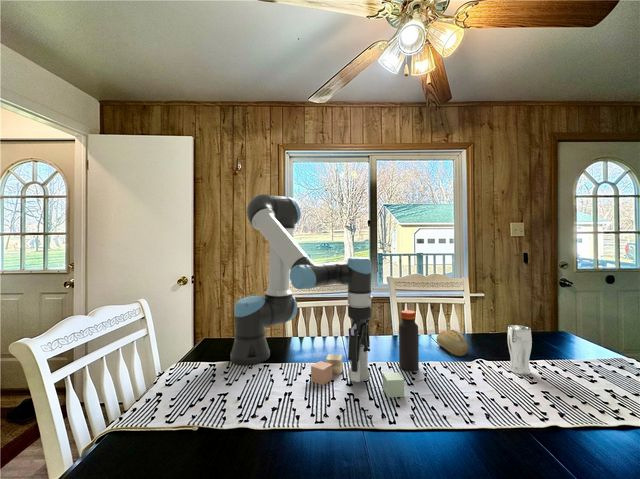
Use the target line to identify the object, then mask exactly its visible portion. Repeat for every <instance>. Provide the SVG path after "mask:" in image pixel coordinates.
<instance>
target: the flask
mask: <svg viewBox="0 0 640 479" xmlns="http://www.w3.org/2000/svg"><path fill="white" fill-rule="evenodd" d="M363 348H364V345H361V344H360V353H359V360H360V382H361V381H362V382H363V381H368V380H369V379H370V378H371V375H370V374H371V373H370V371H369V368H367V365H366V362H365V358H364V353H363ZM347 375H348V377H349V379H350V380H351V367H350V368H349V370H348V374H347Z"/></svg>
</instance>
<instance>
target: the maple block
mask: <svg viewBox="0 0 640 479" xmlns="http://www.w3.org/2000/svg"><path fill="white" fill-rule="evenodd" d="M325 363H329V364H332V375H339V376H341V375H342V371H343V354H337V353H335V354H332V353H328V354H327V356H326V359H325Z"/></svg>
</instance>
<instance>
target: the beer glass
mask: <svg viewBox="0 0 640 479" xmlns="http://www.w3.org/2000/svg"><path fill="white" fill-rule="evenodd" d="M531 329H532V328H530V327H528V326H525V325H518V324H511V325H508V326H507V346H508V352H509V355H510V363H509V368H508V369H509V371H510V372H512V373H514V374H516V375H520V376H521V375H522V376H527V375H528V376H529V375H530V374H531V368H530V357H531V352H532V346H533V345H532V343H533V341H532V340H533V338H532V330H531Z"/></svg>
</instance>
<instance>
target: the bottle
mask: <svg viewBox="0 0 640 479" xmlns="http://www.w3.org/2000/svg"><path fill="white" fill-rule="evenodd" d="M400 313H401V314H400V315H401V316H400V317H401V322H400V323H399V324H398V367H399V368H400V369H401V370H403V371H408V372H415V371H418V370H419V367H420V366H419V364H420V363H419V359H420V358H419V357H420V356H419V353H420V352H419V325H418V324H417V323H416V311H415V310H410V309H409V310H408V309H405V310H401V311H400Z"/></svg>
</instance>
